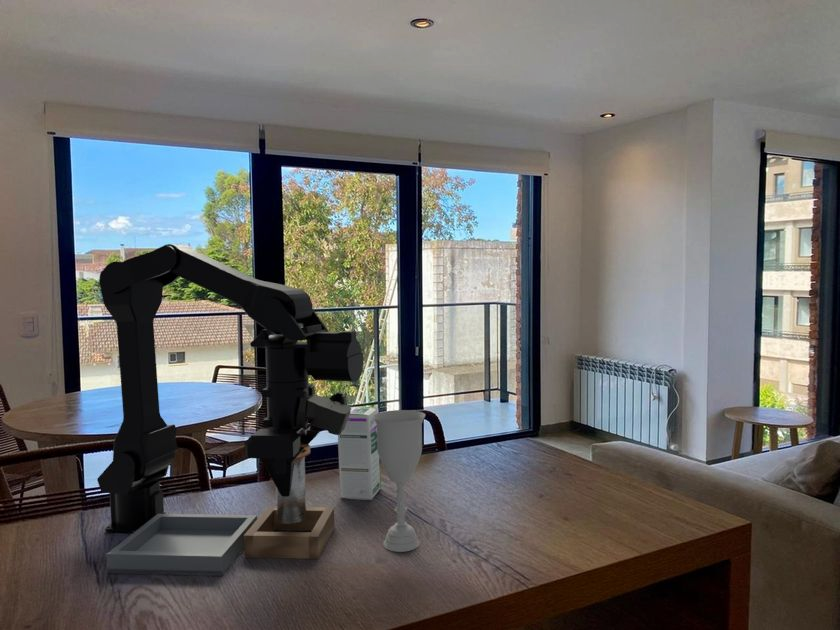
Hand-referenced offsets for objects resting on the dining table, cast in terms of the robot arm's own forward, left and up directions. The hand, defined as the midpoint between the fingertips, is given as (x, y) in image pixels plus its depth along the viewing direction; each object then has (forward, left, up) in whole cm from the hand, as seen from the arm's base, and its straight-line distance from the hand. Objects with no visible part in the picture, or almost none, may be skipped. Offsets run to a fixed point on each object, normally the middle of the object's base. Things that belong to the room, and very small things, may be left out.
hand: (290, 489), depth 85 cm
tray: (-14, -4, -8) cm, 16 cm away
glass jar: (0, 0, -4) cm, 4 cm away
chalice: (+15, 0, -8) cm, 17 cm away
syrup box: (+6, +19, -8) cm, 21 cm away
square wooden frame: (0, 0, -8) cm, 8 cm away
